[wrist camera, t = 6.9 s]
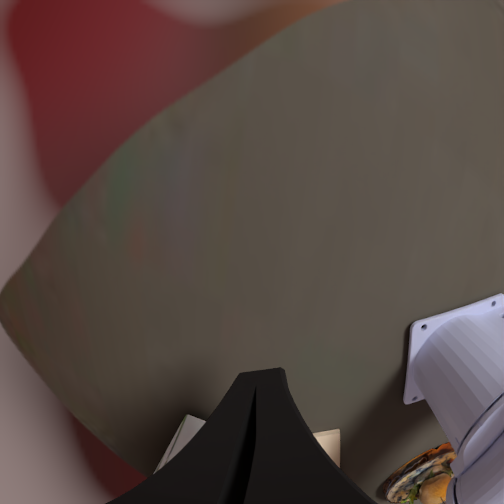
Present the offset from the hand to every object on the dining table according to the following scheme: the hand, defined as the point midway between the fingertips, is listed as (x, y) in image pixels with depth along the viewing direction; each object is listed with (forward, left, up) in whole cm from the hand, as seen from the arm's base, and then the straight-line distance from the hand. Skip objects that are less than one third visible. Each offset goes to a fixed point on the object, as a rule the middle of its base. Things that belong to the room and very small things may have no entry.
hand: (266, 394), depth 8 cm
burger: (-15, +29, -10) cm, 34 cm away
